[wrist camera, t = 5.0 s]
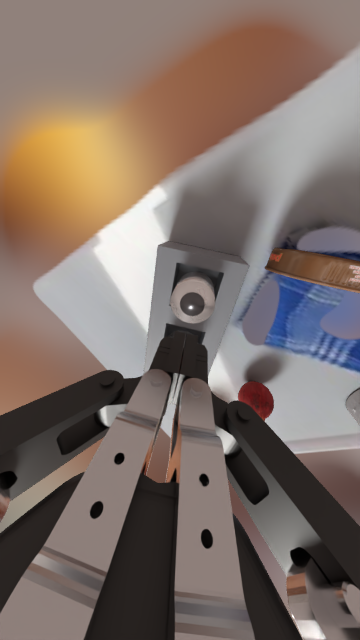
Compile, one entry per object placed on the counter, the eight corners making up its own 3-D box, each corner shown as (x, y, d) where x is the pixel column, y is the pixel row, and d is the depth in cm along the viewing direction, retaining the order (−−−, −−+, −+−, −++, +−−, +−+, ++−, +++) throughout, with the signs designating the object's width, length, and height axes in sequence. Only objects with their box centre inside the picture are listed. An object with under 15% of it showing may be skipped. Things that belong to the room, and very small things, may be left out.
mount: (240, 256, 24) (249, 265, 18) (198, 378, 35) (197, 404, 30) (168, 241, 24) (157, 245, 19) (151, 366, 36) (141, 390, 31)
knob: (218, 276, 19) (221, 288, 16) (208, 310, 22) (208, 328, 18) (180, 267, 20) (173, 278, 16) (173, 303, 22) (166, 319, 18)
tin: (256, 264, 24) (277, 282, 17) (265, 240, 22) (294, 247, 15) (366, 288, 24) (438, 317, 16) (384, 265, 22) (472, 285, 15)
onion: (233, 373, 34) (240, 412, 27) (265, 370, 32) (281, 410, 25) (237, 393, 36) (244, 434, 29) (267, 392, 35) (282, 433, 28)
